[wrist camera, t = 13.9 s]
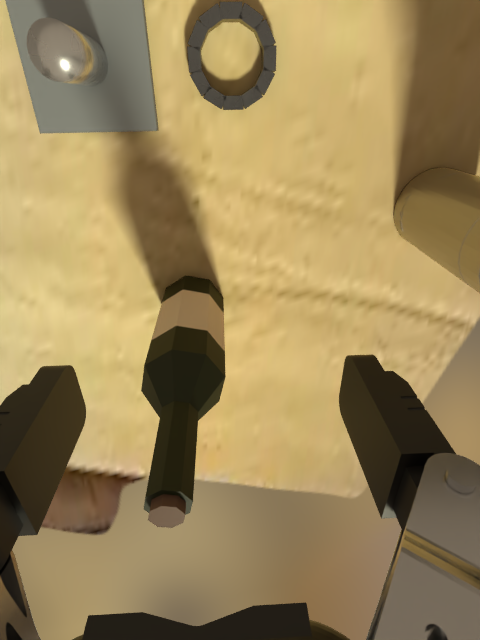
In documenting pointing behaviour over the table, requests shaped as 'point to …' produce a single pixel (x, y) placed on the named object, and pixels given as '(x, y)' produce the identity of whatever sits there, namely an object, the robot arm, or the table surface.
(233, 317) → the table surface
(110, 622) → the robot arm
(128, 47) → the slate mat
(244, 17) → the metal eye
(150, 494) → the wine bottle
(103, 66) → the cylinder
